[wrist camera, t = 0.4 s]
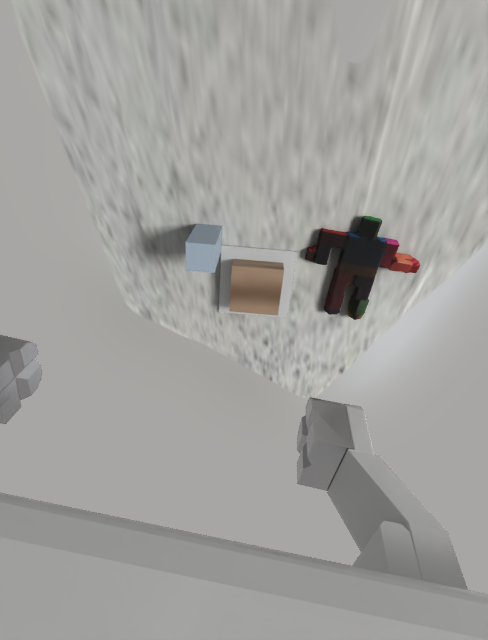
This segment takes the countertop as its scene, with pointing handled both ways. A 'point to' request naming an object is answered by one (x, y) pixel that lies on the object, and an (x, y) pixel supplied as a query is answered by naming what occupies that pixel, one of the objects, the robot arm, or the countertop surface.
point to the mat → (258, 255)
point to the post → (203, 248)
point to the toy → (358, 263)
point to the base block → (256, 286)
